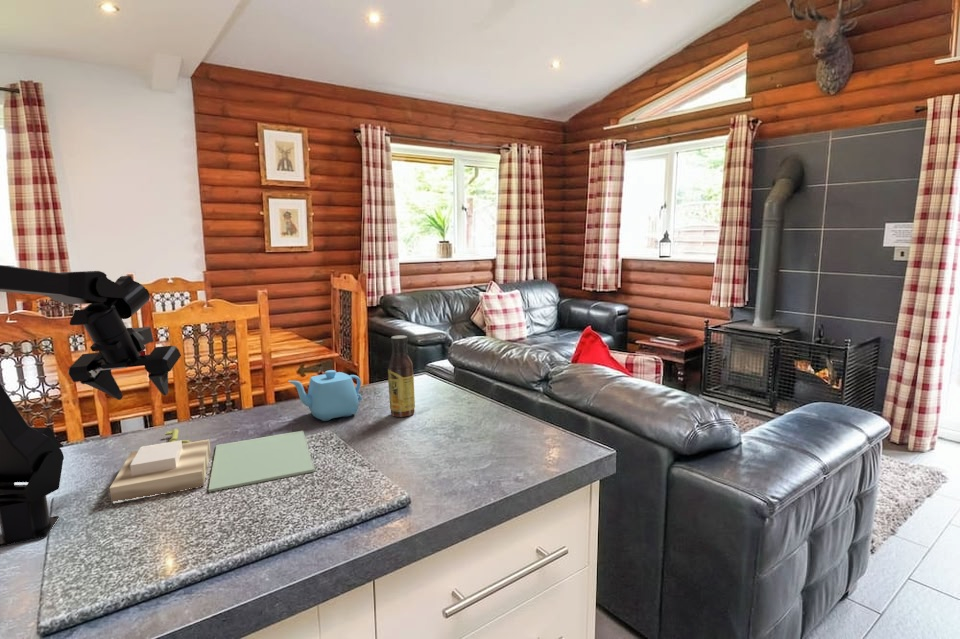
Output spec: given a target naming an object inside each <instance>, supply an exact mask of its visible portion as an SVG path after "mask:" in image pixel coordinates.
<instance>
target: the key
mask: <svg viewBox="0 0 960 639" xmlns="http://www.w3.org/2000/svg"><path fill="white" fill-rule="evenodd" d="M179 431H180V430H179V429H178V428H174V429H172V430H168V431H165V433H164V435H165V436H170V435H171V438H170V439H169V440H168V442H173V441H179V439H178V438H179V437H178V436H179ZM189 442H192V441H191V440H188V439H182V444H183V443H189Z"/></svg>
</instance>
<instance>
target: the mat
mask: <svg viewBox="0 0 960 639" xmlns="http://www.w3.org/2000/svg"><path fill="white" fill-rule="evenodd" d="M215 446H216V447H215V452H214V458H213V463H212V466H211V467H212V468H211V474H210V480H209V486H208V493H212V492H211V491H214V492H218V491H217V490H219V491H223V490H222V489H224V490H227V489H228V488H229V489H234V488H237V487H243V485H244V486H248V485H253V484H259V483H263V482H268V481H273V480H280V479H283V478H288V477H294V476H298V475H299V476H300V475H305V474H309V473H313V472H315V467H314V462H313V460H312V457H311V453H310V449H309V447H308V443H307V439H306V436H305V433H304V430H299V431H293V432H287V433H280V434H274V435H269V436H264V437H263V436H262V437H256V438H251V439H244V440H239V441H234V442H233V441H232V442H227V443H221V444H216V445H215ZM233 487H234V488H233Z"/></svg>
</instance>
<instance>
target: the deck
mask: <svg viewBox="0 0 960 639" xmlns="http://www.w3.org/2000/svg"><path fill="white" fill-rule="evenodd" d="M182 448H183V450H182V453H181V456H180V459H179V462H178V465H177V467H176V468H174V469H168V470H162V471H157V472H151V473H146V474H140V475H134V476H132V475H131V468H130V465H131V463H132V461H133V459H134V458H135V456H136V454H137V452H138V451H139V450H136V451H131V452H130V453H129V455H128V457H127V458H126V460H125V462H124V463H123V464H122V467H121V469H119V472H118V473H117V475H116V477H115V478H114V480H113V482H112V483H111V485H110V487H109V493H110V500H111V501H110V502H111V503H112V502H113V501H118V500H125V499H132V498H136V497H143V496H150V495H155V494H161V493H169V492H174V491H180V490H185V489H189V488H190V490H192V489H191V488H196V487H200V486H204V487H205V484H204V482H206V479H205V477H206V478H207V474H206V472H207V473H208V469H207V467H209V464H208V463H210V458H211V454H212V453H211V444H210V439H209V438H208V439H203V440H197V441H191V442H189V443H183V444H182ZM196 489H197V488H196ZM185 491H186V490H185ZM180 492H181V491H180Z"/></svg>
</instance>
